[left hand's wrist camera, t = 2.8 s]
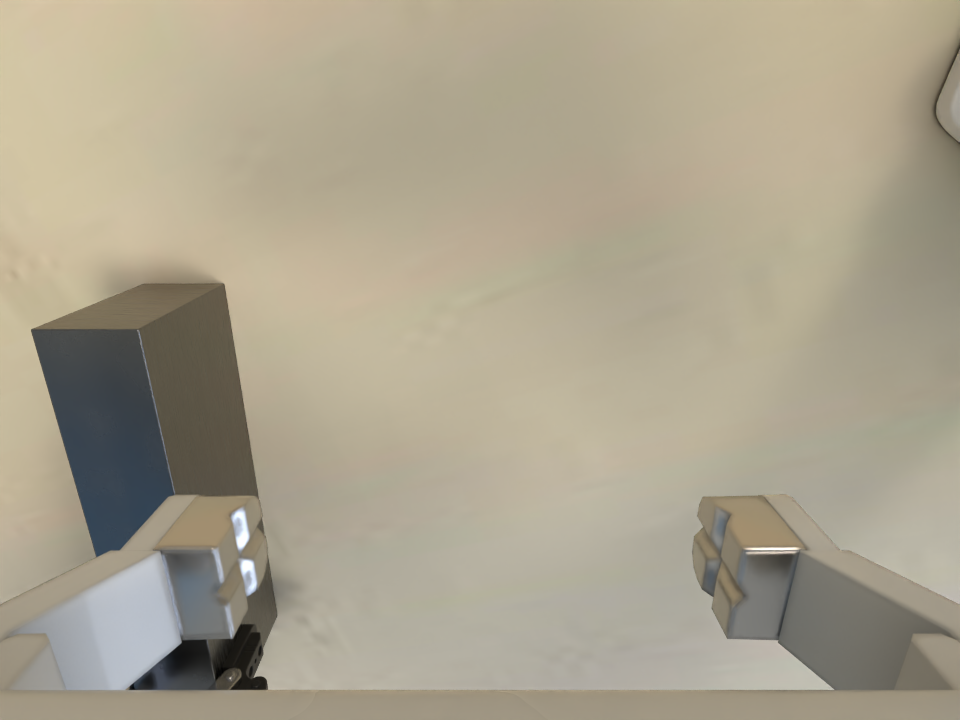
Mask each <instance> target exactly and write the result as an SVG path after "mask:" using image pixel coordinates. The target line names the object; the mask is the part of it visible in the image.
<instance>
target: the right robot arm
mask: <svg viewBox="0 0 960 720" xmlns="http://www.w3.org/2000/svg"><path fill="white" fill-rule="evenodd" d="M262 656H263V645H262V639H261V634H260V632H257V627H256V624H244V625H243V627H242V629H241V631H240V633H239V635H238V637H237V639H236V641H235V643H234V645H233V647H232V649H231V651H230V653H229V655H228V657H227V659H226V661H225V664H224V666H223V672H224V673H223V674H222V675H221V676H220V677H219V678H218V679H217V680H216V681H215V682H214V683H213V684H212V685H211V686H210V688H209V689H208V690H268V685H267V680H266V679H265V678H264V677H255V678H253V677H254V675H255V673H256V670H257V668H258V666H259V663H260V661H261V659H262ZM125 690H135V689H134V686H133V684H132V685H130V686H129V687H128V688H127V689H125Z"/></svg>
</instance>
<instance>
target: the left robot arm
mask: <svg viewBox="0 0 960 720" xmlns="http://www.w3.org/2000/svg"><path fill="white" fill-rule="evenodd" d="M936 115H937V118H938V121H939V122H940V124H941V125H942V127H943V128H944V129H945V130H946V131H947V132H948V133H949V134H950V135H951V136H952V137H953V138H954V139H956V140H957V141H958V142H959V143H960V49H959V52H958V54H957V56H956V59H955V61H954V63H953V66H952V68H951V70H950V73H949V75H948V77H947V79H946V82H945V84H944V86H943V89H942V91H941V93H940V96H939V98H938V101H937V105H936ZM262 516H263V515H262V510H261V505H260V500H259V499H257V498H256V497H255V496H236V495H173V496H169V497H168V498H167V499H166V500H165V501H164V502H163V503H162V504H161V505H160V506H159V507H158V509H157V510H156V511H155V512H154V513H153V514H152V515H151V516H150V517H149V518H148V520H147V521H146V522H145V523H144V524H143V525H142V526H141V527H140V528H139V530H138V531H137V532H136V533H135V534H134V535H133V536H132V537H131V538H130V539H129V541H128V542H127V543H126V544H125V545H124V546H123V547H122V548H121V549H120V550H119V551H109V552H107V553H104V554H102V555H100V556H98V557H96V558H94V559H92V560H90V561H88V562H86V563H84V564H82V565H80V566H78V567H76V568H74V569H72V570H70V571H68V572H66V573H64V574H62V575H60V576H58V577H55V578H53V579H51V580H49V581H47V582H45V583H43V584H41V585H39V586H37V587H35V588H33V589H31V590H29V591H27V592H25V593H23V594H21V595H19V596H17V597H15V598H13V599H11V600H9V601H6V602H4V603H2V604H0V720H960V605H959V604H957V603H955V602H953V601H951V600H949V599H947V598H945V597H943V596H941V595H939V594H937V593H935V592H933V591H931V590H929V589H927V588H925V587H923V586H921V585H919V584H917V583H915V582H913V581H910V580H908V579H906V578H904V577H902V576H900V575H898V574H896V573H894V572H892V571H890V570H888V569H886V568H884V567H882V566H880V565H878V564H876V563H874V562H872V561H870V560H868V559H866V558H864V557H862V556H860V555H858V554H855V553H853V552H851V551H841V550H840V549H839V548H838V547H837V546H836V545H835V544H834V543H833V542H832V541H831V539H830V538H829V537H828V536H827V535H826V534H825V533H824V532H823V531H822V530H821V528H820V527H819V526H818V525H817V524H816V523H815V522H814V521H813V520H812V518H811V517H810V516H809V515H808V514H807V513H806V512H805V511H804V510H803V509H802V507H801V506H800V505H799V504H798V503H797V502H796V501H795V500H794V499H793V498H792V497H790V496H788V495H786V494H779V495H758V496H714V497H703V498H702V500H701V502H700V504H699V509H698V515H697V516H698V518H699V520H700V521H701V523H702V525H703V528H702V529H701V530H700V531H699V532H698V533H697V534H696V535H695V536H694V542H693V550H692V555H693V566H694V570H695V574H696V577H697V580H698V582H699V584H700V586H701V588H702V590H704V591H705V592H707V593H708V594H709V595H711V596H712V597H714V598H713V604H712V610H713V612H714V614H715V616H716V618H717V620H718V622H719V624H720V626H721V628H722V629H723V631H724V633H725V635H726V637H727V639H755V640H779V641H778V643H779V644H780V645H782V646H783V647H784V648H785V649H787V650H788V651H789V652H790V653H791V654H793V655H794V656H795V657H796V658H797V659H799V660H800V661H801V662H802V663H803V664H805V665H806V666H807V667H808V668H809V669H811V670H812V671H813V672H814V673H815V674H817V675H818V676H819V677H820V678H821V679H823V680H824V681H825V682H826V683H827V684H829V685H830V686H831V687H832V688H833V689H835V690H125V689H127V688H128V687H129V686H130V685H132V684H133V683H134V682H135V681H136V680H138V679H139V678H140V677H141V676H142V675H144V674H145V673H146V672H147V671H148V670H150V669H151V668H152V667H153V666H154V665H156V664H157V663H158V662H159V661H160V660H162V659H163V658H164V657H165V656H167V655H168V654H169V653H170V652H171V651H173V650H174V649H175V648H176V647H177V646H179V645H180V644H181V643H182V641H181V640H204V639H233V637H234V635H235V633H236V632H237V630H238V628H239V626H240V624H241V622H242V620H243V618H244V616H245V614H246V612H247V610H248V604H247V598H246V597H248V596H249V595H251V594H252V593H253V592H255V591H256V590H258V588H259V586H260V584H261V582H262V580H263V578H264V574H265V569H266V565H267V549H268V548H267V541H266V536H265V535H264V534H263V533H262V532H261V531H260V530H259V529H258V528H257V525H258V523H259V521H260V520H261V518H262Z"/></svg>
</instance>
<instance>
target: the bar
mask: <svg viewBox="0 0 960 720" xmlns="http://www.w3.org/2000/svg"><path fill="white" fill-rule="evenodd" d="M31 332H32V336H33V339H34V343H35V346H36V349H37V353H38V356H39V360H40V363H41V367H42V370H43V374H44V377H45V381H46V384H47V388H48V391H49V395H50V398H51V401H52V405H53V408H54V412H55V415H56V419H57V422H58V426H59V429H60V433H61V436H62V440H63V443H64V446H65V450H66V453H67V457H68V460H69V464H70V467H71V471H72V474H73V478H74V481H75V485H76V488H77V492H78V495H79V498H80V502H81V505H82V509H83V512H84V516H85V519H86V523H87V526H88V530H89V533H90V537H91V540H92V543H93V547H94V550H95V554H96V557H98V556H100V555H102V554H104V553H107V552H109V551H119V550H120V549H121V548H122V547H123V546H124V545H125V544H126V543H127V542H128V541H129V539H130V538H131V537H132V536H133V535H134V534H135V533H136V532H137V531H138V530H139V528H140V527H141V526H142V525H143V524H144V523H145V522H146V521H147V520H148V518H149V517H150V516H151V515H152V514H153V513H154V512H155V511H156V510H157V509H158V507H159V506H160V505H161V504H162V503H163V502H164V501H165V500H166V499H167V498H168V497H169V496H173V495H236V496H255V497H256V498H257V499H258V492H257V486H256V480H255V474H254V467H253V461H252V455H251V449H250V442H249V436H248V430H247V424H246V417H245V411H244V405H243V399H242V392H241V386H240V380H239V374H238V367H237V361H236V355H235V349H234V342H233V336H232V330H231V324H230V318H229V311H228V305H227V299H226V293H225V286H224V284H142V285H140V286H137V287H135V288H132V289H130V290H127V291H125V292H123V293H120V294H118V295H115V296H113V297H110V298H108V299H105V300H103V301H100V302H98V303H95V304H93V305H90V306H88V307H85V308H83V309H81V310H78V311H76V312H73V313H71V314H68V315H66V316H63V317H61V318H58V319H56V320H53V321H51V322H48V323H46V324H43V325H41V326H39V327H36V328H34V329H31ZM257 528H258V529H259V530H260V531H261V532H262V533H263V534H264V530H263V524H262V518H261V520H260V521H259V523H258V525H257ZM246 598H247V604H248V610H247V612H246V614H245V616H244V618H243V620H242V622H241V624H240V626H239V628H238V630H237V632H236V633H235V635H234V637H233V639H204V640H181V641H182V643H181V644H180V645H179V646H177V647H176V648H175V649H174V650H173V651H171V652H170V653H169V654H168V655H167V656H165V657H164V658H163V659H162V660H160V661H159V662H158V663H157V664H156V665H154V666H153V667H152V668H151V669H150V670H148V671H147V672H146V673H145V674H144V675H142V676H141V677H140V678H139V679H138V680H136V681H135V682H134V683H133V686H134V689H135V690H208V689H209V688H210V686H211V685H212V684H213V683H214V682H215V681H216V680H217V679H218V678H219V677H220V676H221V675H222V674H223V673H224V672H223V666H224V664H225V661H226V659H227V657H228V655H229V653H230V651H231V649H232V647H233V645H234V643H235V641H236V639H237V637H238V635H239V633H240V631H241V629H242V627H243V625H244V624H256V627H257V632H260V634H261V639H262V645H263V647H264V645H265V643H266V640H267V638H268V636H269V634H270V631H271V629H272V627H273V624H274V622H275V620H276V617H277V611H276V605H275V598H274V592H273V586H272V580H271V573H270V567H269V561H268V555H267V565H266V569H265V574H264V578H263V580H262V582H261V584H260V586H259V588H258V590H256V591H255V592H253V593H252V594H251V595H249V596H248V597H246Z"/></svg>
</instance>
